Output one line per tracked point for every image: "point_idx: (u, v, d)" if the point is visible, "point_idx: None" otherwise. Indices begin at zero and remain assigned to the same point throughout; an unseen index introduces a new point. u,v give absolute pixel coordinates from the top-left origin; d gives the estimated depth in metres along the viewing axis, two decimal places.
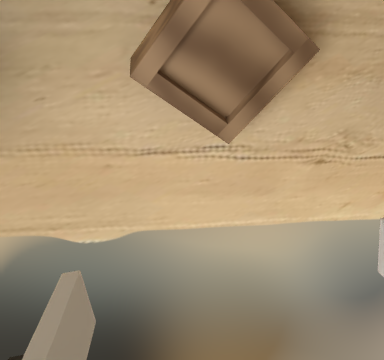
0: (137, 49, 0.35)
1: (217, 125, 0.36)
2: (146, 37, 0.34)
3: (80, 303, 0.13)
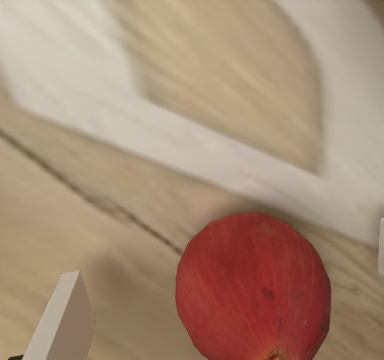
0: None
1: None
2: None
3: (80, 303, 0.13)
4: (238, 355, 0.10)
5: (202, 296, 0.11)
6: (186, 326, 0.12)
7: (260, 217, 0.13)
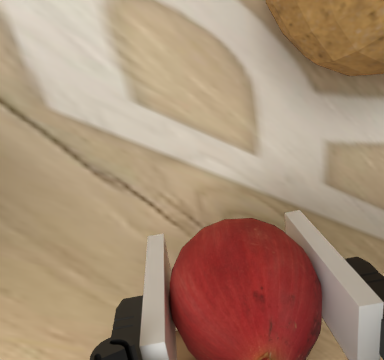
0: None
1: None
2: None
3: (167, 261, 0.15)
4: (230, 359, 0.10)
5: (195, 300, 0.11)
6: (179, 330, 0.12)
7: (252, 222, 0.13)
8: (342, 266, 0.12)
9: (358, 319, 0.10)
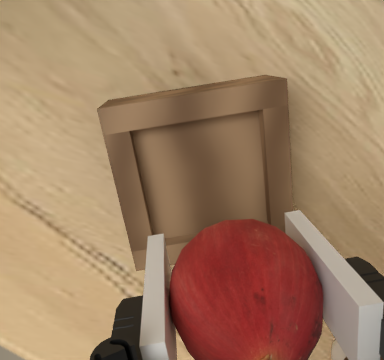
0: (123, 98, 0.27)
1: (142, 240, 0.26)
2: (143, 95, 0.27)
3: (167, 260, 0.15)
4: None
5: (195, 302, 0.11)
6: (179, 332, 0.12)
7: (253, 223, 0.13)
8: (342, 266, 0.12)
9: (358, 319, 0.10)
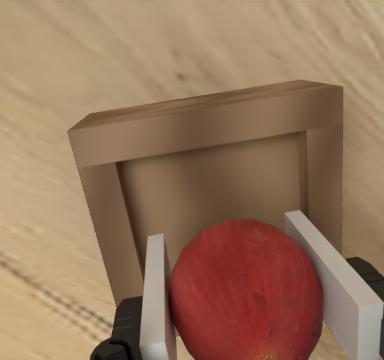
0: (109, 111, 0.20)
1: None
2: (136, 107, 0.20)
3: (167, 261, 0.15)
4: None
5: (195, 302, 0.11)
6: (179, 332, 0.12)
7: (253, 223, 0.13)
8: (342, 266, 0.12)
9: (358, 319, 0.10)
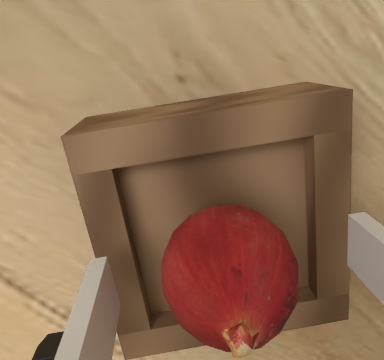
0: (106, 114, 0.19)
1: (133, 320, 0.18)
2: (134, 111, 0.19)
3: (108, 286, 0.14)
4: (210, 326, 0.12)
5: (181, 275, 0.12)
6: (169, 303, 0.13)
7: (236, 208, 0.14)
8: None
9: None
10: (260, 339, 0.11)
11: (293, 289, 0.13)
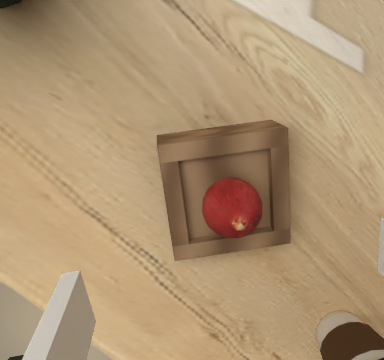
0: (168, 134, 0.37)
1: (180, 238, 0.36)
2: (183, 133, 0.37)
3: (80, 303, 0.13)
4: (227, 221, 0.30)
5: (214, 203, 0.31)
6: (207, 217, 0.31)
7: (236, 178, 0.32)
8: None
9: None
10: (246, 225, 0.30)
11: (259, 210, 0.31)
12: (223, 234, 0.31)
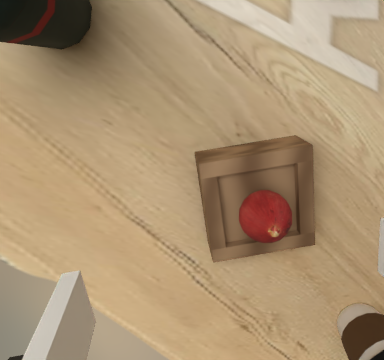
0: (205, 151, 0.42)
1: (218, 242, 0.41)
2: (218, 149, 0.42)
3: (80, 303, 0.13)
4: (263, 229, 0.35)
5: (251, 214, 0.35)
6: (245, 226, 0.36)
7: (268, 191, 0.37)
8: None
9: None
10: (280, 232, 0.34)
11: (290, 219, 0.36)
12: (259, 240, 0.36)
